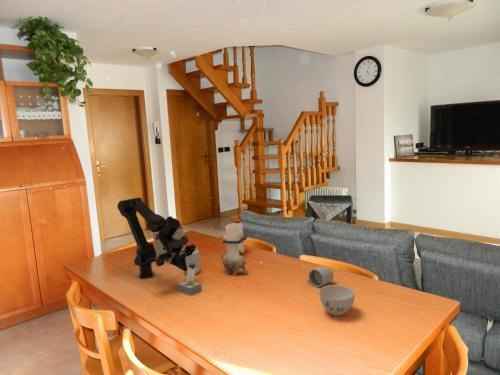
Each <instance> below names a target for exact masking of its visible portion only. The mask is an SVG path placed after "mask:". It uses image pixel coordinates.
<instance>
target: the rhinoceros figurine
mask: <svg viewBox="0 0 500 375" xmlns="http://www.w3.org/2000/svg"><path fill="white" fill-rule="evenodd" d="M221 263H222V265H223V266H224V269H225V271H226V272H225V273H224V275H229V274H230V270H234V271H233V274H232V276H233V277H234V276H237V274H238V273H239V270H241V269H242V270H243V276H247V275H248V272H247V269H246V264H247V261H246V260H245V258H244V256H243V255H241V254H239V255H237V254H233V255H228V252H227V251H226V253H222V256H221Z"/></svg>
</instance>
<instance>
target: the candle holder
mask: <svg viewBox="0 0 500 375" xmlns="http://www.w3.org/2000/svg"><path fill="white" fill-rule="evenodd" d="M224 229H225V239H223V241H222V244H226V249H227V250H226V252H228V255H233V254H237V255H241V254H244V253H245V243H244V242H245V240H247V238H248V236H247V235H246V236H245V235H244V227H243V223H241V222H240V223H239V222H238V223H237V222H234V223H229V224H227V225H225V227H224Z"/></svg>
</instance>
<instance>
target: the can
mask: <svg viewBox="0 0 500 375" xmlns="http://www.w3.org/2000/svg"><path fill="white" fill-rule="evenodd" d="M185 260H186V266H187V271H186V272H185V273H186V274H187V272H188V267H189V265H190V264H191V263H194V264H195V266H196V269H195V275H196V274H199V272H200V271H201V263H200V262H201V261H200V251H199V249H198V247H196V249H195V251H194V252H193V253H192V255H190V256H187V257H185Z"/></svg>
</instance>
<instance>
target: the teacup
mask: <svg viewBox="0 0 500 375" xmlns="http://www.w3.org/2000/svg"><path fill="white" fill-rule="evenodd" d="M355 293H356V292H355V290H354V289H353V288H350V287H348V286H346V285H342V284H326V285H323V286H321V287H319V290H318V295H319V300H320V302H321V305H322V307H323V308H324V309H325V310H326V311H327V312H328V314H330V315H332V316H337V317H338V316H340V317H341V316H343V315H345V314H346V313H347V312H348V311H349V310H350V309H351V308H352V305H353V303H354V301H355V296H356V294H355Z"/></svg>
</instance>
